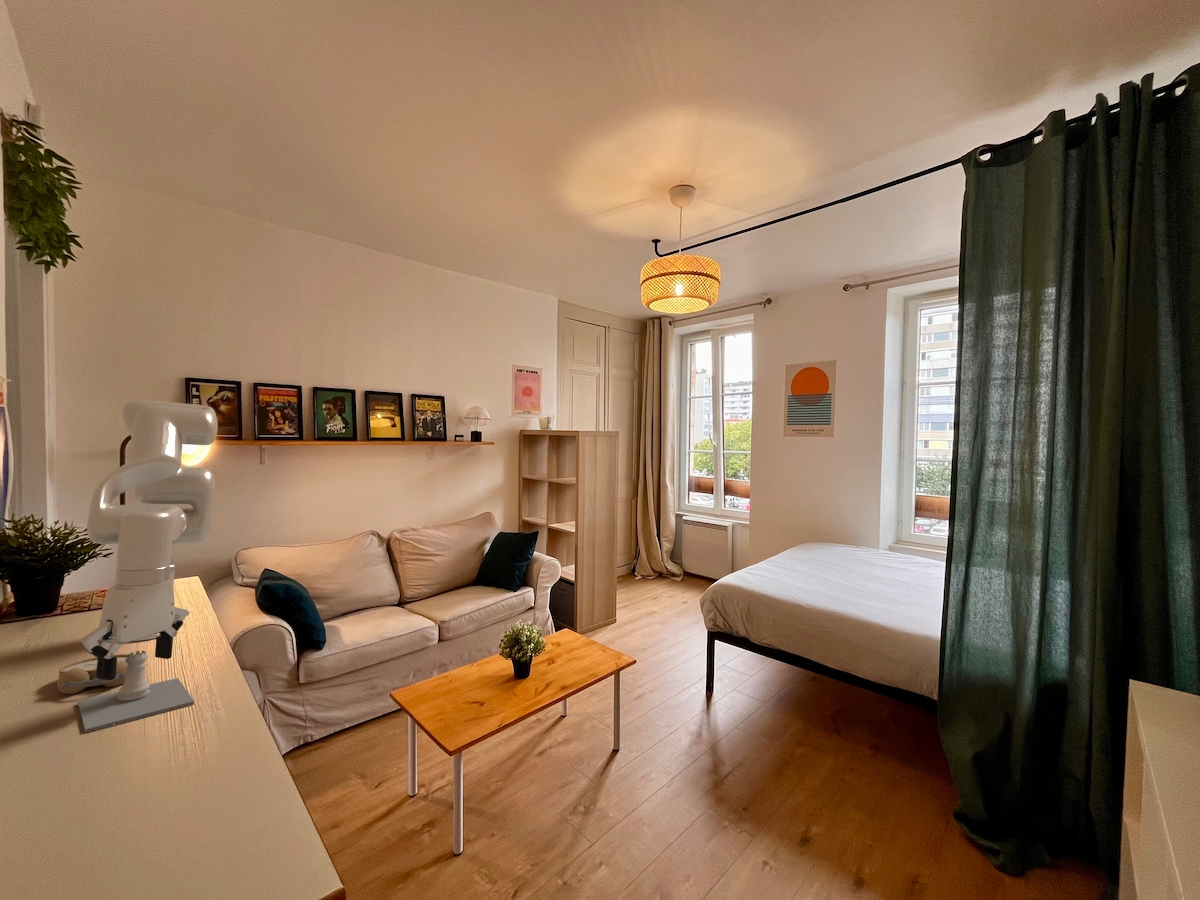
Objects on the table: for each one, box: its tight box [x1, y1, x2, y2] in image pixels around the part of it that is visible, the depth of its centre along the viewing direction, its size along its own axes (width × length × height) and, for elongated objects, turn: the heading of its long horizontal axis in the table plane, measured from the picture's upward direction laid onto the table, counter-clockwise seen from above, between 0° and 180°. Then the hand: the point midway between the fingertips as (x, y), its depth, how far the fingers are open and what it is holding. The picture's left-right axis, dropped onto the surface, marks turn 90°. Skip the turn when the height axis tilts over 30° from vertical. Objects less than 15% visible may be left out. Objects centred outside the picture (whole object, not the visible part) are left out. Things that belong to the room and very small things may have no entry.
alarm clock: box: [56, 653, 129, 695], centre depth 98 cm, size 11×5×15 cm
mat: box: [77, 677, 195, 734], centre depth 90 cm, size 14×14×1 cm
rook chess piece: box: [117, 650, 151, 702], centre depth 92 cm, size 4×4×8 cm
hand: (136, 667), depth 93 cm, fingers open, 9 cm apart
